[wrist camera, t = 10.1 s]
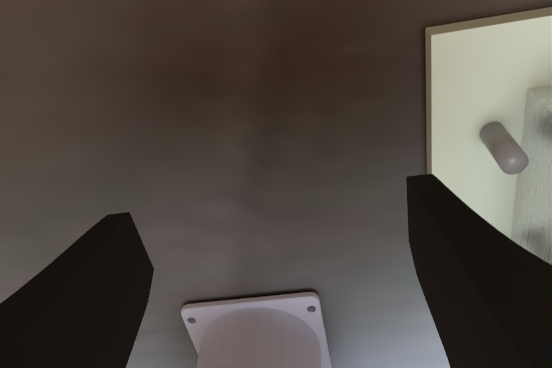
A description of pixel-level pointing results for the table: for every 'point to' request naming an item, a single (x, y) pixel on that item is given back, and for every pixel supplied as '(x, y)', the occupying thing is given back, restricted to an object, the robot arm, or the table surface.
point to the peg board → (484, 105)
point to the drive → (535, 177)
